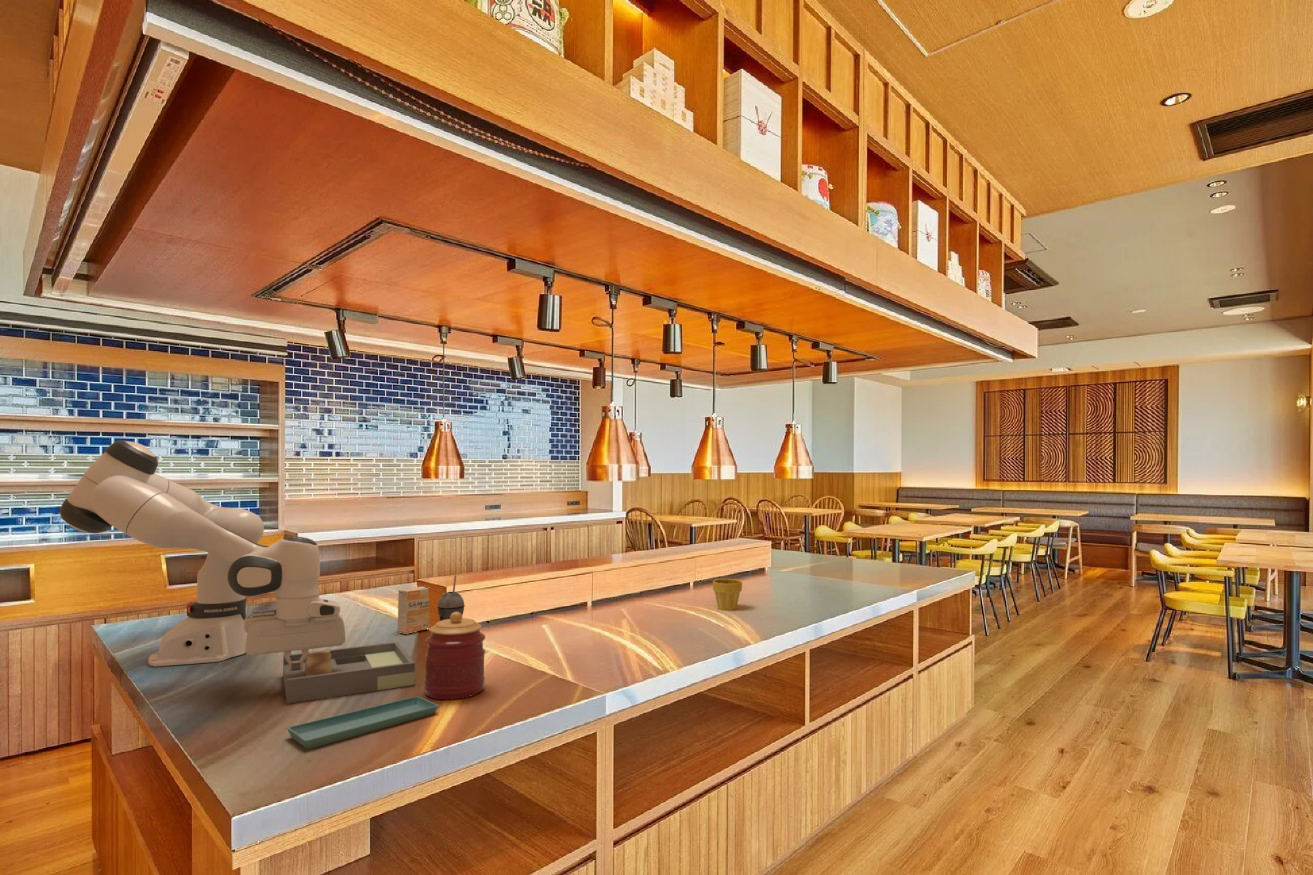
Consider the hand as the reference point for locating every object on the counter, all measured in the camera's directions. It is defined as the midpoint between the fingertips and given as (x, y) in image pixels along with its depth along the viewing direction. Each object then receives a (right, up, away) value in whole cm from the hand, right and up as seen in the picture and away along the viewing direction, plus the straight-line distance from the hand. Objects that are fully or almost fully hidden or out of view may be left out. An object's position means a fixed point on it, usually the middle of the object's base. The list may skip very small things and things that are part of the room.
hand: (295, 669), depth 156 cm
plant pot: (+107, -9, +89) cm, 140 cm away
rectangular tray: (+25, -4, -22) cm, 34 cm away
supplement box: (+8, -7, +53) cm, 54 cm away
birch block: (+4, -1, +2) cm, 5 cm away
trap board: (+9, -4, +6) cm, 12 cm away
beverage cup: (+25, -6, +34) cm, 43 cm away
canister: (+37, -4, -2) cm, 37 cm away
